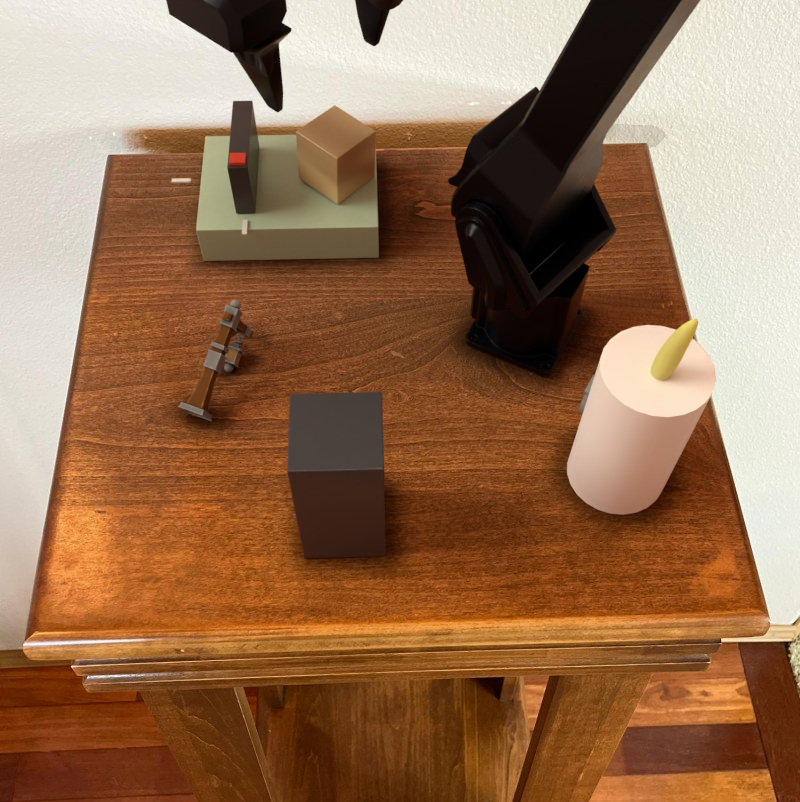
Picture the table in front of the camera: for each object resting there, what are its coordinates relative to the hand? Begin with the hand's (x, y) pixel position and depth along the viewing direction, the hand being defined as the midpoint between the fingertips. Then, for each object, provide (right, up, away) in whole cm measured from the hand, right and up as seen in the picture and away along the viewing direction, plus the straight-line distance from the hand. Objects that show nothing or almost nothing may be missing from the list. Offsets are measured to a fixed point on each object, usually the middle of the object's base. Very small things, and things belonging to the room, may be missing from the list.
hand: (324, 75), depth 60 cm
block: (0, -4, +7) cm, 8 cm away
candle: (+19, -27, -1) cm, 33 cm away
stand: (+2, -30, -4) cm, 30 cm away
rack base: (-4, -6, +9) cm, 12 cm away
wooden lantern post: (-7, -20, +2) cm, 21 cm away
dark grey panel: (-6, -4, +7) cm, 10 cm away
